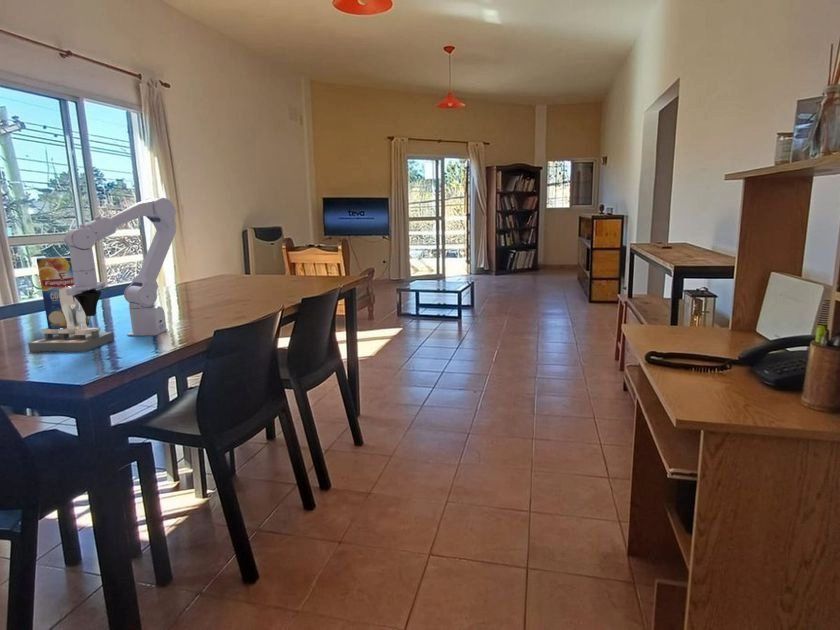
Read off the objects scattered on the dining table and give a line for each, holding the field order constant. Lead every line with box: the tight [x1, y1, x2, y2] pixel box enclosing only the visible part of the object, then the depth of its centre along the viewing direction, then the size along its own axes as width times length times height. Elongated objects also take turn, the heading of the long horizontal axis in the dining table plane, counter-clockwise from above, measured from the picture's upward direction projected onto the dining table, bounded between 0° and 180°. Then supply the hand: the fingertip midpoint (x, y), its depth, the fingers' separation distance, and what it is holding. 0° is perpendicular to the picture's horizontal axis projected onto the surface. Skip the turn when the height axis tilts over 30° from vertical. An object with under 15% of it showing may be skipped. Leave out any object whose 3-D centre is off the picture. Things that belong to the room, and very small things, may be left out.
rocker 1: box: [40, 328, 58, 335], centre depth 152 cm, size 3×7×1 cm, turn 178°
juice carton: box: [35, 255, 91, 330], centre depth 178 cm, size 12×8×24 cm, turn 125°
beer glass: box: [59, 286, 89, 330], centre depth 168 cm, size 7×7×15 cm
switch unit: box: [27, 330, 115, 353], centre depth 152 cm, size 16×13×4 cm
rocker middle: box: [57, 328, 77, 334], centre depth 152 cm, size 3×7×1 cm, turn 178°
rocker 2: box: [75, 327, 101, 335], centre depth 152 cm, size 3×7×1 cm, turn 178°
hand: (90, 315), depth 153 cm, fingers closed
